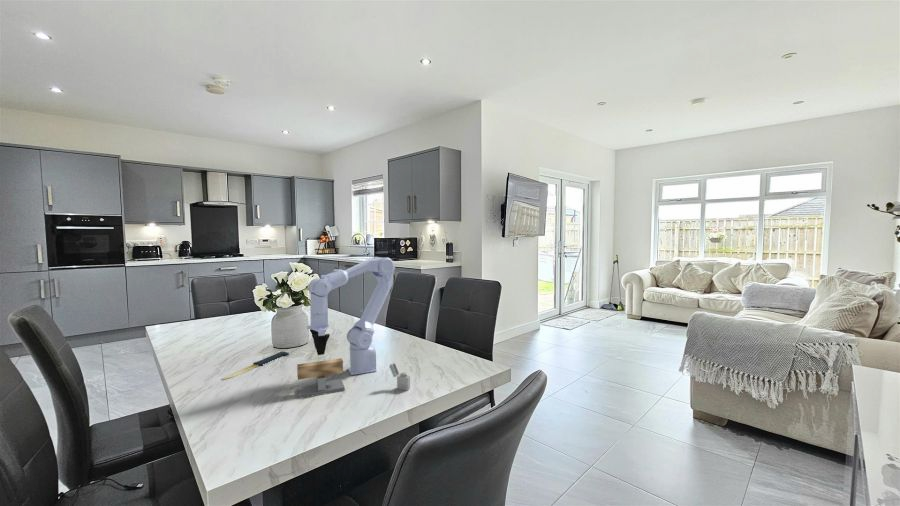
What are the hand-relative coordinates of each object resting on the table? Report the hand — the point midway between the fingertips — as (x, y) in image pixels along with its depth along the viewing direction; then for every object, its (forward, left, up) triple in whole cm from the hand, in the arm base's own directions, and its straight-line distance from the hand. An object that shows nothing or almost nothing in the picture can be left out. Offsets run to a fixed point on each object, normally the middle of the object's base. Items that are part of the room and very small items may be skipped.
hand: (319, 351), depth 129 cm
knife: (+21, -26, -11) cm, 36 cm away
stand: (0, +8, -10) cm, 13 cm away
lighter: (-24, +18, -11) cm, 32 cm away
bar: (+1, +8, -5) cm, 10 cm away
